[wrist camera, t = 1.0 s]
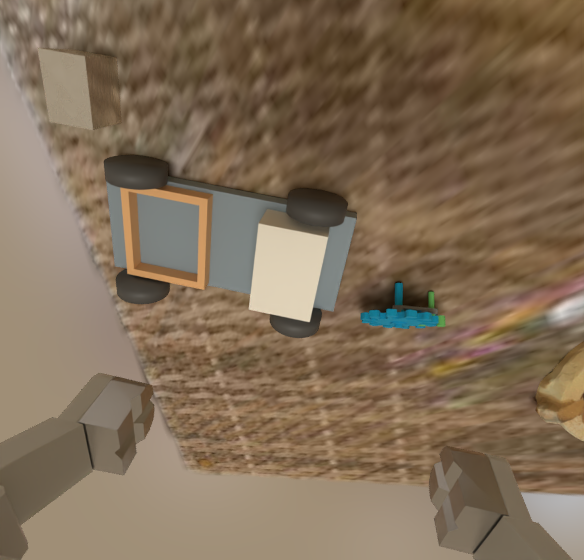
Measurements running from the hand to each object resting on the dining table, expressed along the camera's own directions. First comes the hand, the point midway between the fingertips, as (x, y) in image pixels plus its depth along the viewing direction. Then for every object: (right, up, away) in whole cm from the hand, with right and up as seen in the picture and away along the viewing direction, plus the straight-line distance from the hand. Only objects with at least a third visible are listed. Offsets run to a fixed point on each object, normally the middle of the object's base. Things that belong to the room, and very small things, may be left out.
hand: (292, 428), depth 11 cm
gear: (+15, +1, +43) cm, 46 cm away
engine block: (-23, +27, +34) cm, 49 cm away
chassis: (-9, +10, +42) cm, 43 cm away
